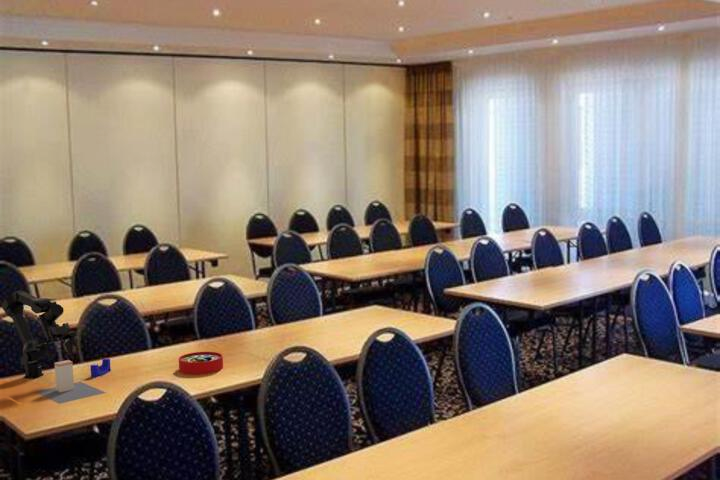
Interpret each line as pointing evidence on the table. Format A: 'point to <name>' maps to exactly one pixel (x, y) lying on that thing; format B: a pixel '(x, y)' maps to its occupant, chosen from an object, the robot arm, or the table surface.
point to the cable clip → (100, 368)
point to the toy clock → (200, 363)
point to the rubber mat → (70, 393)
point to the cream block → (64, 376)
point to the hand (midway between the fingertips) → (62, 357)
